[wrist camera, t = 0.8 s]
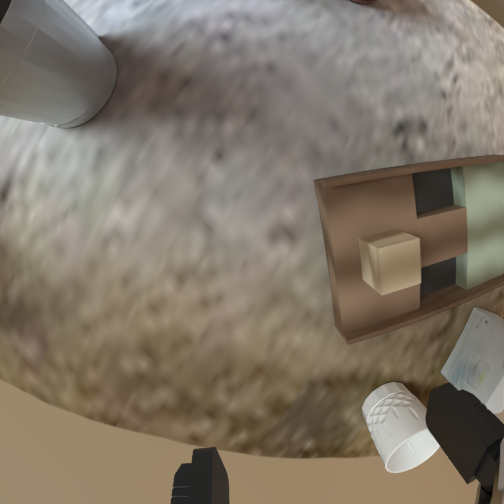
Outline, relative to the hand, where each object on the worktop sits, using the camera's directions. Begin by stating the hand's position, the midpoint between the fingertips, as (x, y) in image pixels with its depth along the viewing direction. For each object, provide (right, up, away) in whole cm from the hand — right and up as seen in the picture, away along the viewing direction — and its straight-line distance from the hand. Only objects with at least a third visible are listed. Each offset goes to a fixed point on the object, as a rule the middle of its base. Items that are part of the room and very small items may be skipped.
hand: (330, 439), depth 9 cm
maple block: (+9, +6, +18) cm, 21 cm away
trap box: (+17, +9, +20) cm, 28 cm away
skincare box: (+27, -6, +25) cm, 38 cm away
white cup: (+15, -13, +26) cm, 33 cm away
